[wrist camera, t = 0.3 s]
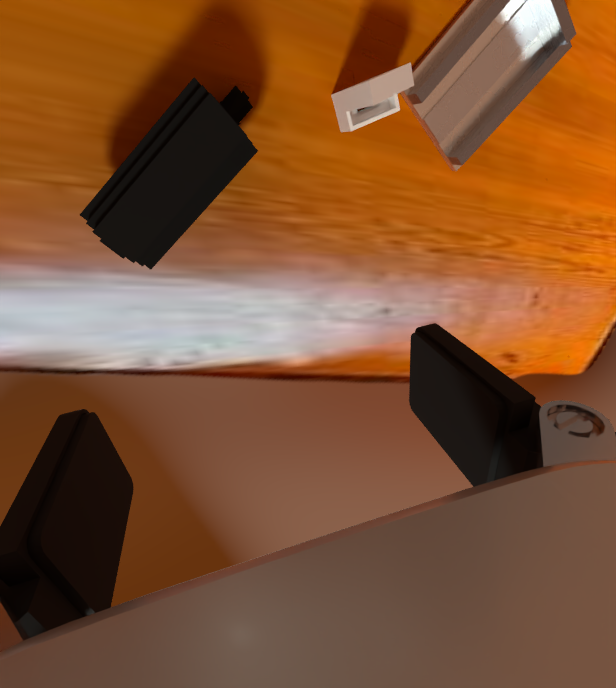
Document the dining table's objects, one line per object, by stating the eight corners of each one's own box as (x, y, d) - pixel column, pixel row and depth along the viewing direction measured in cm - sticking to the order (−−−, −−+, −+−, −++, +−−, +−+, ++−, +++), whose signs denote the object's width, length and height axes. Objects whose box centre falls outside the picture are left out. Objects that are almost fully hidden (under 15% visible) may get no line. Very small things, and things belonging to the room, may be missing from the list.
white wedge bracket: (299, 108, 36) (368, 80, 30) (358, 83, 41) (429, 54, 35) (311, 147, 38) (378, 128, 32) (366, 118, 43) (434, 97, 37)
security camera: (267, 127, 39) (286, 122, 30) (154, 252, 41) (143, 280, 33) (216, 65, 35) (221, 40, 27) (97, 207, 38) (68, 225, 30)
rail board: (451, 170, 46) (471, 172, 42) (396, 88, 40) (415, 83, 37) (552, 60, 43) (583, 53, 39) (509, -47, 37) (541, -66, 33)
